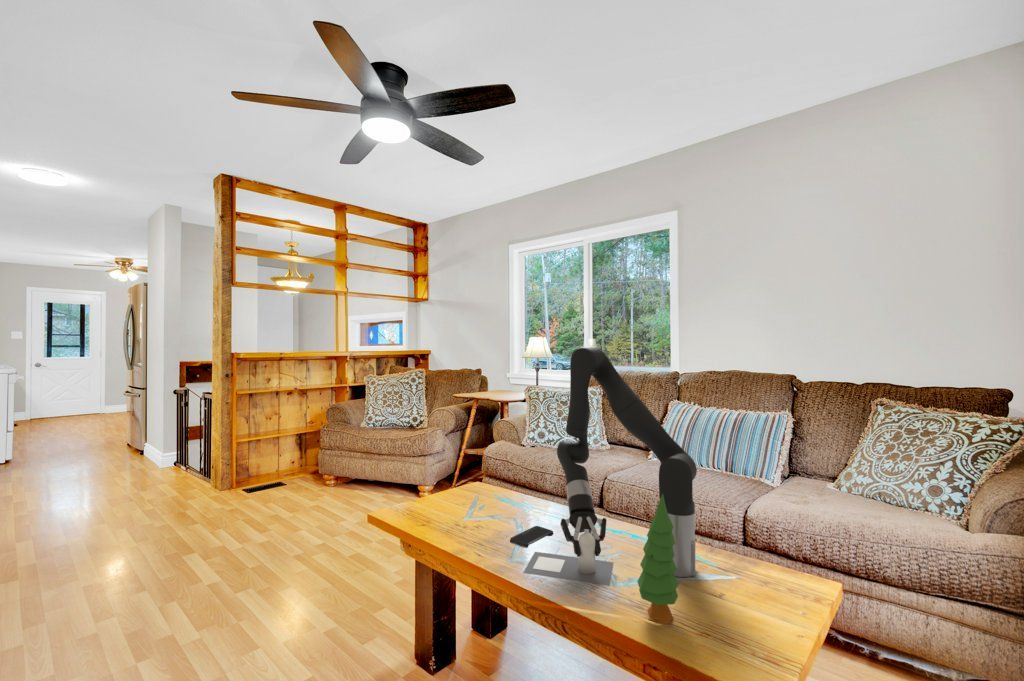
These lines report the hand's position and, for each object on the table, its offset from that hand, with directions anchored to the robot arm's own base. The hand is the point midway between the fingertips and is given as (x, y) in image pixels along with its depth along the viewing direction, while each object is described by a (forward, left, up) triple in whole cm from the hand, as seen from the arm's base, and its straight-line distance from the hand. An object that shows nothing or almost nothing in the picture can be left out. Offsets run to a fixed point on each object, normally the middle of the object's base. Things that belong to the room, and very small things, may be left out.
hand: (588, 555), depth 133 cm
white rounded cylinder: (+1, -2, -5) cm, 5 cm away
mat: (+6, -2, -6) cm, 8 cm away
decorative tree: (-18, +15, -6) cm, 25 cm away
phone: (+22, -21, -6) cm, 31 cm away
